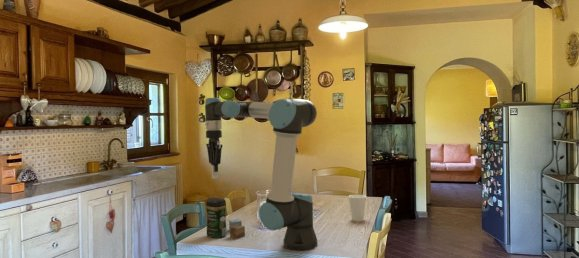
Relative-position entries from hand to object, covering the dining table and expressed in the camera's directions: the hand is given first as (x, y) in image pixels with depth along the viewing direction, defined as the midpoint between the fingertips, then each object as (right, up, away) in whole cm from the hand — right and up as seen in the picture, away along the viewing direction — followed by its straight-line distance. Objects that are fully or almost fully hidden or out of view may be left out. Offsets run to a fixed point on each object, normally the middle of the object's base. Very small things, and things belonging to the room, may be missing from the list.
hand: (215, 178), depth 194 cm
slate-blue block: (+9, -28, +10) cm, 31 cm away
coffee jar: (+1, -28, +1) cm, 29 cm away
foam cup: (+74, -26, +25) cm, 82 cm away
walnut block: (+11, -28, -2) cm, 30 cm away
